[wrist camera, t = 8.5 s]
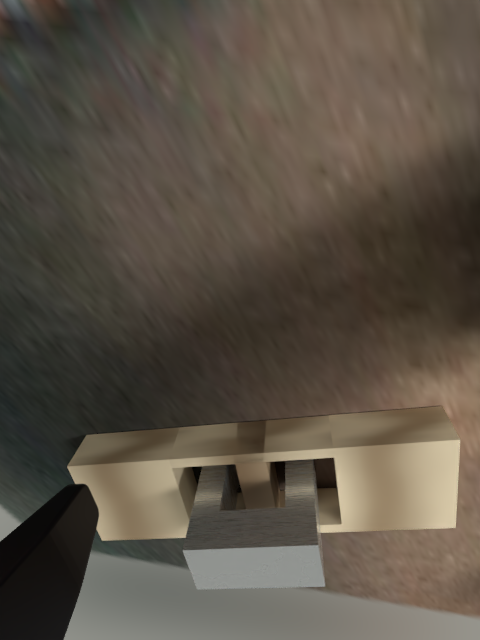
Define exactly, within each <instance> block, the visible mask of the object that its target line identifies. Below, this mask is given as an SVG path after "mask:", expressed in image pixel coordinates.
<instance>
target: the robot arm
mask: <svg viewBox="0 0 480 640" xmlns="http://www.w3.org/2000/svg"><path fill="white" fill-rule="evenodd" d="M98 519H99V510H98V506H97V504H96V502H95V500H94V498H93V496H92V493H91V491H90V489H89V487H88V486H87V485H86V484H70V485H67V486H66V487H64V488H63V489H62V490H61V491H60V492H59V493H57V494H56V495H55V496H54V497H53V498H51V499H50V500H49V501H48V502H47V503H46V504H44V505H43V506H42V507H41V508H40V509H38V510H37V511H36V512H35V513H34V514H33V515H31V516H30V517H29V518H28V519H27V520H25V521H24V522H23V523H22V524H21V525H20V526H18V527H17V528H16V529H15V530H14V531H12V532H11V533H10V534H9V535H8V536H7V537H5V538H4V539H3V540H2V541H1V542H0V640H63V639H64V637H65V633H66V631H67V628H68V625H69V622H70V619H71V617H72V614H73V611H74V608H75V605H76V602H77V599H78V596H79V593H80V590H81V586H82V583H83V579H84V575H85V571H86V568H87V563H88V559H89V556H90V552H91V548H92V544H93V540H94V536H95V532H96V528H97V524H98Z"/></svg>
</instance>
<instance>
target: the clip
mask: <svg viewBox="0 0 480 640" xmlns="http://www.w3.org/2000/svg"><path fill="white" fill-rule="evenodd" d="M238 488H239V478H238V474H237V470H236V466H235V464H228V465H212V466H202V470H201V474H200V478H199V482H198V487H197V491H196V495H195V500H194V504H193V508H192V512H191V517H190V521H189V525H188V529H187V534H186V538H185V542H184V547H183V553H184V555H185V558H186V561H187V563H188V566H189V569H190V571H191V574H192V576H193V579H194V582H195V584H196V587H197V589H233V588H234V589H235V588H280V587H324V586H325V577H324V565H323V553H322V542H321V530H320V518H319V506H318V494H317V482H316V473H315V466H314V460H313V459H305V460H290V461H285V507H280V508H262V509H244V510H236V504H237V496H238Z"/></svg>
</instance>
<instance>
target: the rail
mask: <svg viewBox="0 0 480 640" xmlns="http://www.w3.org/2000/svg"><path fill="white" fill-rule="evenodd" d="M459 453H460V438H459V436H458V435H457V433H456V431H455V429H454V427H453V425H452V423H451V421H450V420H449V418H448V416H447V414H446V412H445V410H444V408H443V406H437V407H424V408H412V409H400V410H387V411H375V412H363V413H350V414H338V415H326V416H314V417H301V418H289V419H277V420H264V421H252V422H240V423H227V424H215V425H203V426H190V427H178V428H166V429H153V430H141V431H129V432H116V433H104V434H92V435H86V437H85V438H84V440H83V441H82V443H81V445H80V446H79V448H78V450H77V451H76V453H75V454H74V456H73V458H72V459H71V461H70V463H69V464H68V466H67V467H68V470H69V472H70V474H71V476H72V478H73V480H74V482H75V484H86V485H87V486H88V487H89V489H90V491H91V493H92V496H93V498H94V500H95V502H96V504H97V506H98V510H99V519H98V524H97V528H96V529H97V531H98V533H99V535H100V537H101V539H102V541H106V540H133V539H161V538H186V534H187V529H188V525H189V521H190V517H191V512H192V508H193V504H194V500H195V495H196V491H197V487H198V486H197V482H196V479H195V476H194V472H193V469H192V467H197V466H212V465H228V464H235V466H236V470H237V474H238V478H239V482H240V486H241V490H242V493H238V496H237V504H236V510H244V509H262V508H280V507H285V490H282V491H280V489H279V484H278V479H277V474H276V468H275V463H274V461H290V460H305V459H321V458H333V459H334V467H335V476H336V485H337V488H319V489H317V494H318V506H319V518H320V530H321V533H327V532H354V531H382V530H410V529H437V528H456V510H457V491H458V472H459Z"/></svg>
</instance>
